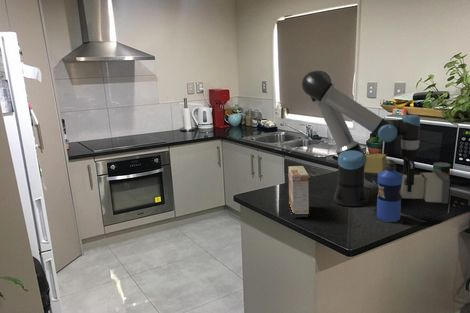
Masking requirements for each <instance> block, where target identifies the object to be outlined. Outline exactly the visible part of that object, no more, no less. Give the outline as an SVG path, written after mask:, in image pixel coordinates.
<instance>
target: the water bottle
mask: <svg viewBox="0 0 470 313" xmlns="http://www.w3.org/2000/svg"><path fill="white" fill-rule="evenodd" d="M385 163H386V165H385V170H384V171H382V172H380V173H377V187H378V188H377V189H378V193H377V198H376V199H377V200H376V219H377V218H378V219H379V220H381V221H380V222H382V221H386V222H395V221H398V220H400V221H401V206H402V196H401V194H400V191H401V185H402V180H403V173H400V172H398V171H397V165H396V164H397V163H396V161H395V160H394V159H387V160H386V162H385ZM378 219H377V220H378ZM379 220H378V221H379ZM386 222H385V223H386Z"/></svg>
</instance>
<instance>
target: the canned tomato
mask: <svg viewBox="0 0 470 313" xmlns="http://www.w3.org/2000/svg"><path fill="white" fill-rule="evenodd" d="M434 170H440V171H441V172H443V173H444V174H445V175H446V176H447V177H448V178H449V179H450V177H451V164H450V163H448V162H440V161H439V162H434V163H433V164H432V173H434Z"/></svg>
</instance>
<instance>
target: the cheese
mask: <svg viewBox="0 0 470 313" xmlns="http://www.w3.org/2000/svg"><path fill="white" fill-rule="evenodd" d="M365 155H366V164H365V169H364V173H367V174H368V173H369V174H378V173H380V172H382V171H384V170H385V165H386V163H385V162H387V154H385V153H373V154H372V153H371V154H365Z"/></svg>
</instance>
